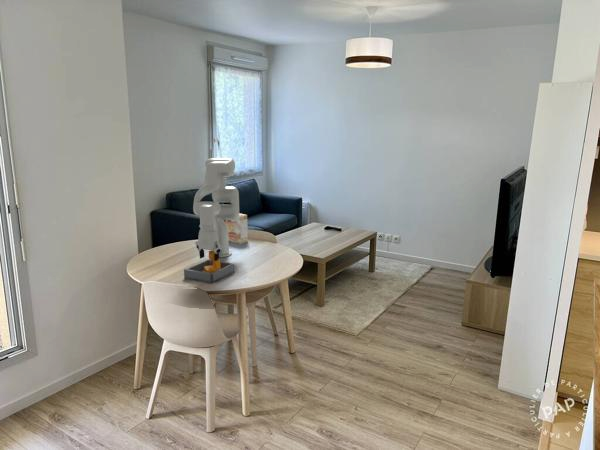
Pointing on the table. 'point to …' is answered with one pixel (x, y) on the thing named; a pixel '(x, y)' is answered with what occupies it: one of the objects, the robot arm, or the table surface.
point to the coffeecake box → (238, 229)
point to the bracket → (215, 265)
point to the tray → (200, 275)
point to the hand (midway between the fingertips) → (209, 258)
